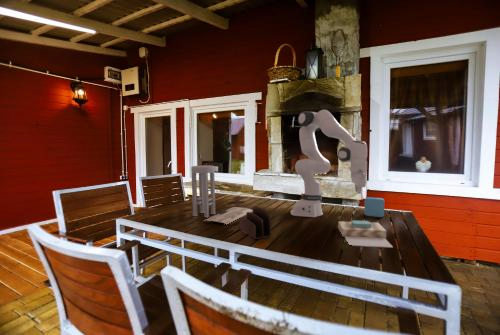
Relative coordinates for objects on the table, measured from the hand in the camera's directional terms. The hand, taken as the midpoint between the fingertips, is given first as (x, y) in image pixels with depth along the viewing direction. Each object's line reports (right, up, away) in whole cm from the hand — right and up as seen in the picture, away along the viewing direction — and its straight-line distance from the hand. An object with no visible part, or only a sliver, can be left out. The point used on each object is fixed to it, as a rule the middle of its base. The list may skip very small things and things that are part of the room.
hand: (357, 192), depth 156 cm
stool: (-95, -20, +32) cm, 102 cm away
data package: (+22, -19, +27) cm, 39 cm away
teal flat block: (-1, -18, -7) cm, 19 cm away
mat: (-4, -23, -21) cm, 31 cm away
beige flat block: (-1, -22, -7) cm, 23 cm away
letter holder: (-60, -23, -5) cm, 65 cm away
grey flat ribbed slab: (-76, -20, +28) cm, 84 cm away
